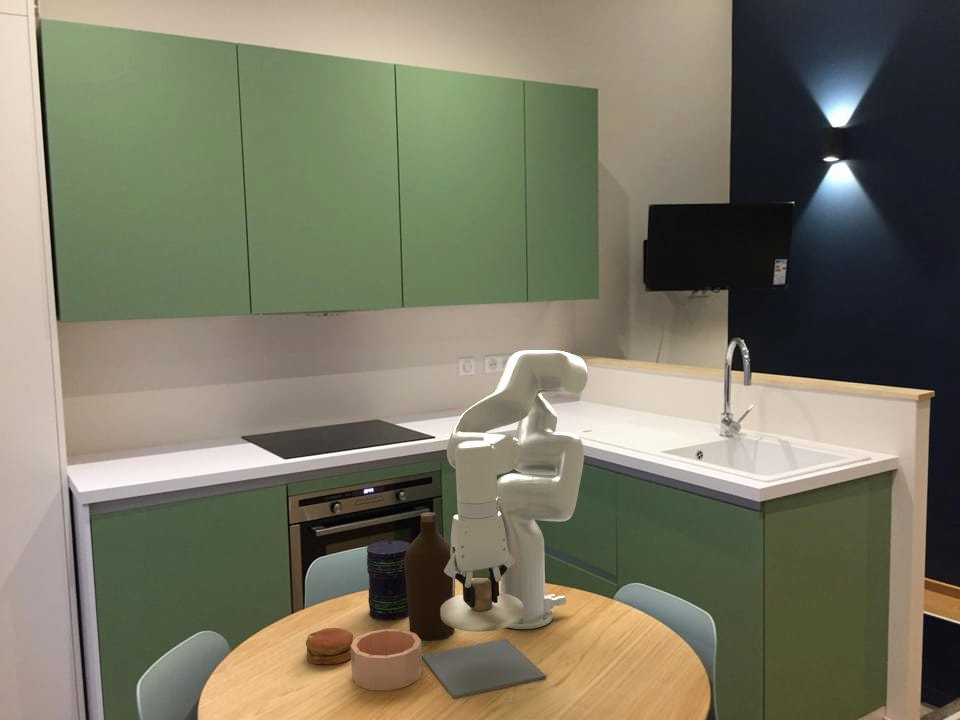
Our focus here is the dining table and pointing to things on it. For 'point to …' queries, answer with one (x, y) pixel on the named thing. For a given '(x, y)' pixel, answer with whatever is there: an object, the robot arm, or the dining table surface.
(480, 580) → the lid
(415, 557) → the olive oil
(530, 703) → the dining table surface
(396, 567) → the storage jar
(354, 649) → the bowl
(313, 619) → the dining table surface
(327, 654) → the burger
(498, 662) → the mat
